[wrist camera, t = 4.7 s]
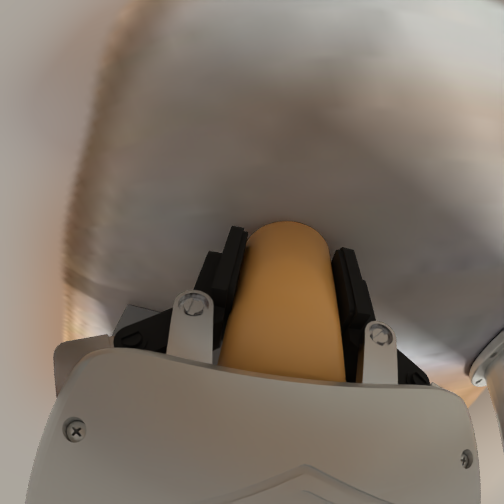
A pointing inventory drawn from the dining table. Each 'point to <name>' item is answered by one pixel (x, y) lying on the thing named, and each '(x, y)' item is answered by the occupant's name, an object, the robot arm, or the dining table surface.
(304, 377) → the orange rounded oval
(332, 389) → the robot arm
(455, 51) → the dining table surface
